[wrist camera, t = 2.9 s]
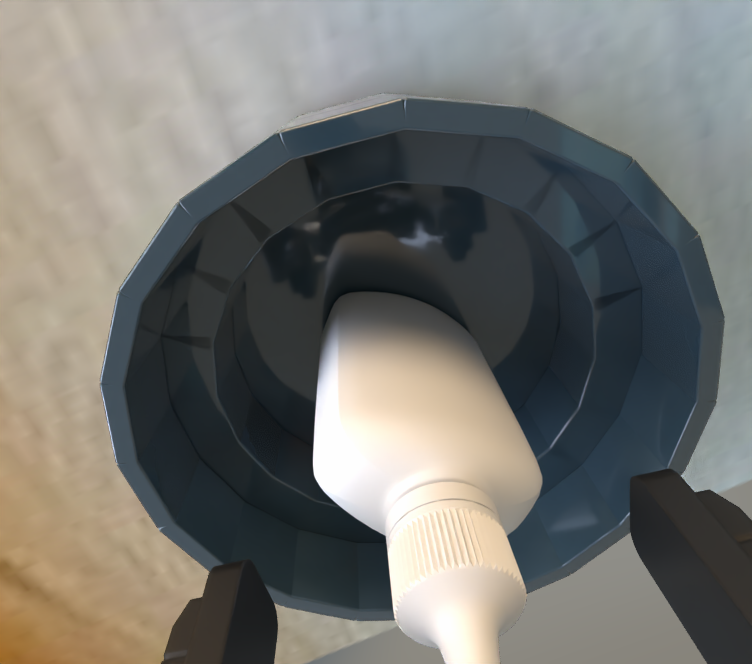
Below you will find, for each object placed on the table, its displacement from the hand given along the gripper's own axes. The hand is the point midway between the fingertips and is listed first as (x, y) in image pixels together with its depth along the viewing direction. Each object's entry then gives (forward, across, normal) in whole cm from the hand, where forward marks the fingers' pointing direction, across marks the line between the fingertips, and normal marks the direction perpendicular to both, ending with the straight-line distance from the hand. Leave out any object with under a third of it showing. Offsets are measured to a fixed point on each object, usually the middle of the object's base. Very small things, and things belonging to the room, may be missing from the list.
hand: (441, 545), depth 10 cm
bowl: (+9, 0, 0) cm, 9 cm away
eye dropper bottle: (+9, 0, 0) cm, 9 cm away
